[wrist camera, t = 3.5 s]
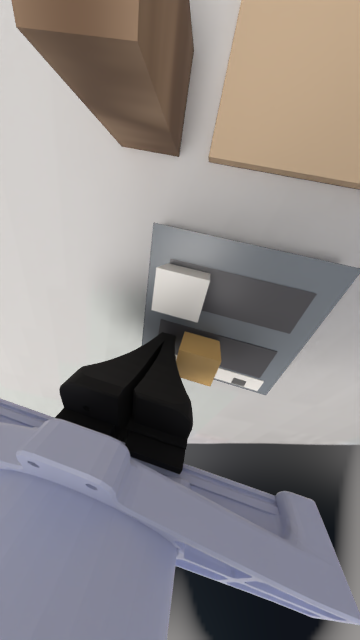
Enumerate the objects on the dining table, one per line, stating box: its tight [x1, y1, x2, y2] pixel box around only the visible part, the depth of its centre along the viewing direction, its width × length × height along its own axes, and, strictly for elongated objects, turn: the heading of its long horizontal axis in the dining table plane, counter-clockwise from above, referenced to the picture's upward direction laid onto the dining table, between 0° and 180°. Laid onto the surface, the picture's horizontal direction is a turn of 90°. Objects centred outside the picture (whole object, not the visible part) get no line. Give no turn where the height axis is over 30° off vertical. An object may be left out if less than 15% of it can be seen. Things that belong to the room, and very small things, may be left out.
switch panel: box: [142, 223, 360, 395], centre depth 13 cm, size 13×12×2 cm
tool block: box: [12, 0, 194, 157], centre depth 6 cm, size 4×4×6 cm
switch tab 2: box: [176, 331, 221, 386], centre depth 12 cm, size 3×3×2 cm
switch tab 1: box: [151, 263, 210, 323], centre depth 10 cm, size 3×3×2 cm
